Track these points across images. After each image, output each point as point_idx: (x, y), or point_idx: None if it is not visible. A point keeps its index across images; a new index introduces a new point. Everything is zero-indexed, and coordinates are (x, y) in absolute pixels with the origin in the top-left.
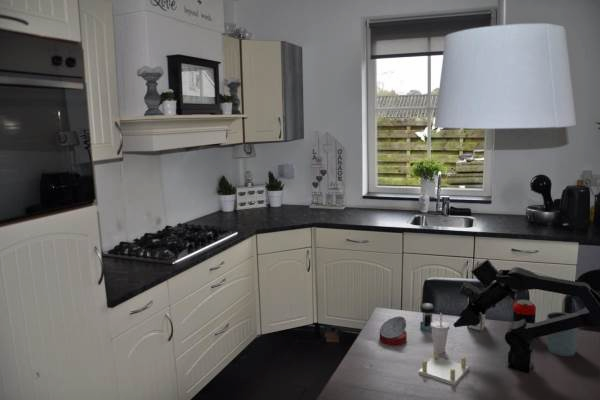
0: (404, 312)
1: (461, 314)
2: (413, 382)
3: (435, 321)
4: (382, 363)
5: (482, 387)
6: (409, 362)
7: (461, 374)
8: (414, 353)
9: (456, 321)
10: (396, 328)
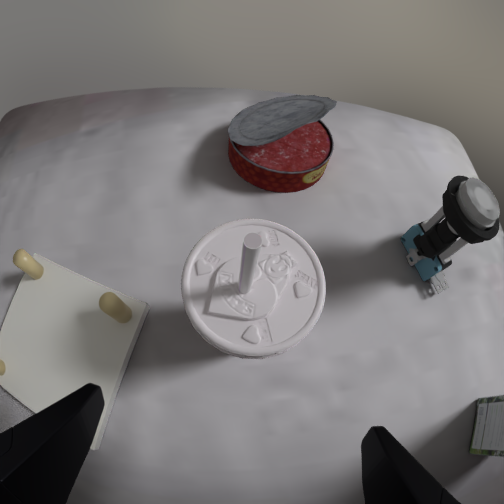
0: None
1: (374, 451)
2: (2, 247)
3: (301, 247)
4: (100, 151)
5: None
6: (108, 220)
7: (28, 406)
8: (183, 228)
9: (44, 410)
10: (276, 124)
